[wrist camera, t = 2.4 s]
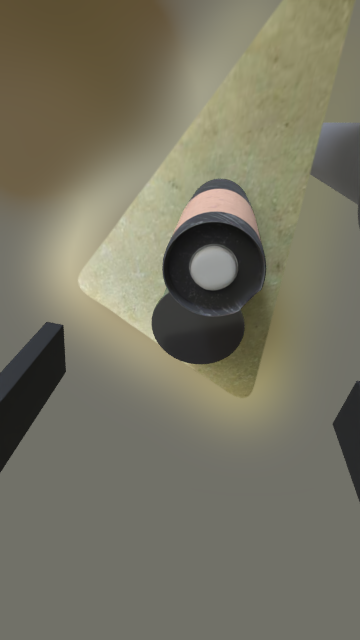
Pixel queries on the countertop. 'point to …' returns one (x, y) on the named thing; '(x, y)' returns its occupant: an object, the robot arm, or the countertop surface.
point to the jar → (195, 332)
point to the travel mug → (215, 252)
